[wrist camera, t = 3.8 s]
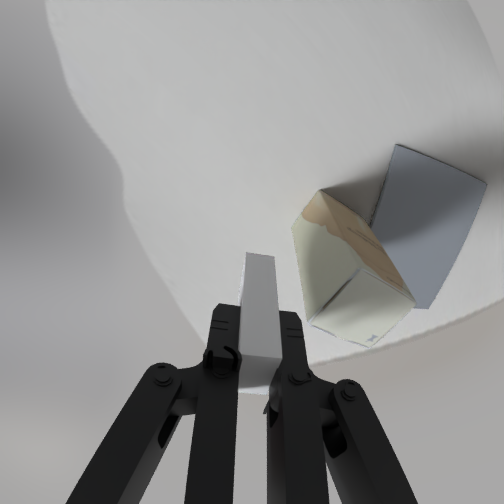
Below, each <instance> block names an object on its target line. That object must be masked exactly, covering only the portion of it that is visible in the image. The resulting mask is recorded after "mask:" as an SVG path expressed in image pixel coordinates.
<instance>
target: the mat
mask: <svg viewBox="0 0 504 504" xmlns="http://www.w3.org/2000/svg"><path fill="white" fill-rule="evenodd" d="M486 186H487V184H486V183H484V182H482V181H480V180H478V179H476V178H474V177H472V176H470V175H468V174H466V173H464V172H462V171H460V170H458V169H455V168H453V167H451V166H449V165H447V164H444V163H442V162H440V161H437V160H435V159H432V158H430V157H428V156H425V155H423V154H420V153H417V152H415V151H412V150H410V149H407V148H404V147H401V146H399V145H396V144H395V148H394V151H393V155H392V159H391V162H390V166H389V169H388V173H387V176H386V179H385V183H384V186H383V189H382V192H381V195H380V198H379V201H378V204H377V207H376V210H375V213H374V216H373V219H372V222H371V225H370V229H371V230H372V232H373V233H374V235H375V236H376V238H377V239H378V241H379V242H380V244H381V245H382V247H383V248H384V250H385V251H386V253H387V254H388V256H389V258H390V259H391V261H392V262H393V264H394V266H395V267H396V269H397V270H398V272H399V274H400V275H401V277H402V279H403V280H404V282H405V283H406V285H407V287H408V288H409V290H410V292H411V294H412V295H413V297H414V299H415V300H416V302H417V304H416V306H415V307H414V308H419V309H429V307H430V305H431V304H432V302H433V301H434V299H435V297H436V295H437V294H438V292H439V290H440V289H441V287H442V285H443V283H444V281H445V280H446V278H447V276H448V274H449V272H450V270H451V268H452V266H453V264H454V262H455V261H456V259H457V256H458V254H459V252H460V250H461V248H462V246H463V244H464V242H465V240H466V237H467V235H468V233H469V231H470V228H471V226H472V224H473V221H474V219H475V216H476V214H477V211H478V209H479V206H480V203H481V201H482V198H483V195H484V192H485V189H486Z"/></svg>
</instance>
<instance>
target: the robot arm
mask: <svg viewBox="0 0 504 504" xmlns="http://www.w3.org/2000/svg"><path fill="white" fill-rule="evenodd" d="M268 391H269V401H268V402H267V405H266V407H265V409H264V412H263V414H266V412H267V504H329V494H328V483H327V471H326V463H327V466H328V468H329V471H330V474H331V476H332V479H333V482H334V484H335V487H336V489H337V492H338V495H339V497H340V499H341V502H342V504H418V503H417V500H416V498H415V496H414V493H413V491H412V489H411V487H410V485H409V482H408V480H407V478H406V476H405V474H404V471H403V469H402V467H401V465H400V463H399V461H398V459H397V457H396V454H395V452H394V451H393V448H392V446H391V444H390V442H389V440H388V438H387V436H386V434H385V432H384V430H383V428H382V426H381V424H380V422H379V419H378V418H377V416H376V414H375V411H374V410H373V408H372V406H371V404H370V402H369V400H368V398H367V396H366V394H365V392H364V390H363V388H362V387H361V386H360V384H358V383H357V382H355V381H353V380H350V379H343V380H341V381H339V382H337V384H334V383H331V382H328V381H324V380H322V379H320V378H318V377H317V376H315V375H314V374H313V372H312V371H311V370H310V369H309V366H308V362H307V355H306V348H305V341H304V335H303V328H302V322H301V319H300V318H299V316H298V315H297V313H296V312H288V311H279V307H278V294H277V283H276V271H275V260H274V256H268V255H261V254H254V253H247V252H246V255H245V261H244V266H243V272H242V278H241V283H240V289H239V298H238V306H235V305H227V304H221V303H219V304H218V305H217V306H216V308H215V309H214V310H213V314H212V320H211V325H210V331H209V337H208V343H207V348H206V350H205V352H204V354H203V361H202V362H201V363H199V364H198V365H196V366H194V367H190V368H184V369H177V368H176V367H175V366H173V365H171V364H168V363H156V364H154V365H152V366H150V367H149V368H148V369H147V370H146V372H145V373H144V375H143V377H142V378H141V380H140V381H139V383H138V385H137V386H136V388H135V389H134V391H133V392H132V394H131V396H130V397H129V399H128V400H127V402H126V403H125V405H124V407H123V408H122V410H121V411H120V413H119V415H118V416H117V418H116V420H115V421H114V423H113V425H112V426H111V428H110V429H109V431H108V433H107V434H106V436H105V437H104V439H103V441H102V442H101V444H100V446H99V447H98V449H97V451H96V452H95V454H94V456H93V458H92V459H91V461H90V462H89V464H88V466H87V467H86V469H85V471H84V473H83V474H82V476H81V478H80V479H79V481H78V483H77V484H76V486H75V488H74V490H73V492H72V493H71V495H70V497H69V498H68V500H67V502H66V504H139V502H140V500H141V498H142V496H143V494H144V492H145V490H146V488H147V486H148V484H149V482H150V480H151V478H152V476H153V474H154V472H155V470H156V468H157V466H158V464H159V462H160V460H161V458H162V456H163V454H164V452H165V450H166V448H167V446H168V444H169V442H170V440H171V438H172V435H173V433H174V431H175V429H176V427H177V425H178V423H179V421H180V419H181V417H182V416H183V415H190V414H195V421H194V429H193V436H192V444H191V451H190V459H189V467H188V475H187V483H186V493H185V501H184V504H233V487H234V465H235V444H236V443H235V442H236V424H237V405H238V392H241V393H252V394H264V395H267V393H268Z"/></svg>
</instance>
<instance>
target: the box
mask: <svg viewBox="0 0 504 504" xmlns="http://www.w3.org/2000/svg"><path fill="white" fill-rule="evenodd" d="M292 234H293V239H294V245H295V250H296V256H297V262H298V268H299V274H300V280H301V286H302V292H303V299H304V305H305V312H306V319H307V324H308V325H309V326H311V327H313V328H316V329H318V330H321V331H323V332H326V333H328V334H330V335H333V336H335V337H338V338H340V339H343V340H346V341H348V342H351V343H354V344H357V345H359V346H362V347H365V348H368V349H369V348H371V347H372V346H374V345H375V344H376V343H377V342H378V341H379V340H380V339H381V338H383V337H384V336H385V335H386V334H387V333H388V332H389V331H390V330H391V329H392V328H393V327H395V326H396V325H397V324H398V323H399V322H400V321H401V320H402V319H403V318H404V317H405V316H406V315H407V314H408V313H409V312H410V311H411V310H412V309H413V308H414V307H415V306H416V304H417V302H416V300H415V299H414V297H413V295H412V294H411V292H410V290H409V288H408V287H407V285H406V283H405V282H404V280H403V279H402V277H401V275H400V274H399V272H398V270H397V269H396V267H395V266H394V264H393V262H392V261H391V259H390V258H389V256H388V254H387V253H386V251H385V250H384V248H383V247H382V245H381V244H380V242H379V241H378V239H377V238H376V236H375V235H374V233H373V232H372V230H371V229H370V227H369V226H368V225H367V223H366V222H365V220H364V219H363V218H362V217H361V216H359V215H358V214H356V213H355V212H353V211H352V210H351V209H349V208H348V207H346V206H345V205H343V204H342V203H340V202H339V201H337V200H336V199H334V198H332V197H331V196H329V195H328V194H326V193H325V192H323V191H321V190H319V191H318V192H317V193H316V194H315V196H314V197H313V198H312V200H311V201H310V202H309V204H308V205H307V206H306V208H305V209H304V211H303V212H302V213H301V215H300V216H299V218H298V219H297V221H296V222H295V223H294V225H293V226H292Z"/></svg>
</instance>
